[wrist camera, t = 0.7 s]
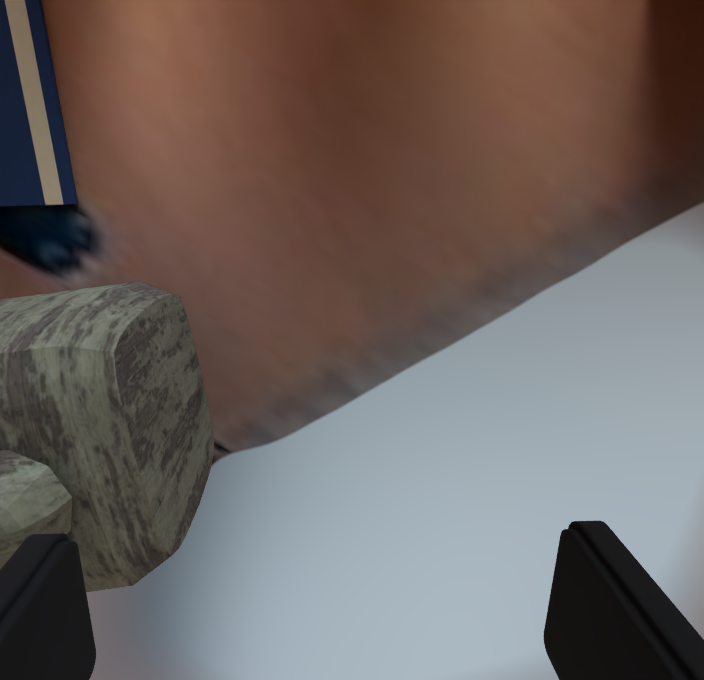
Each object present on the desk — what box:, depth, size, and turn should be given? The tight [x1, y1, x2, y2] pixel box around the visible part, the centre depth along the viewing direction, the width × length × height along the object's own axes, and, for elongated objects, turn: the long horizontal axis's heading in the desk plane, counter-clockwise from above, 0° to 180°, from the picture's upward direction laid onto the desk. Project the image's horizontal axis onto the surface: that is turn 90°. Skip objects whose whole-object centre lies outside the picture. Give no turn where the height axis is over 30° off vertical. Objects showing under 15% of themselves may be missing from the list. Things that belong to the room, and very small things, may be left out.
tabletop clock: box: [0, 282, 214, 592], centre depth 26 cm, size 14×9×25 cm, turn 7°
